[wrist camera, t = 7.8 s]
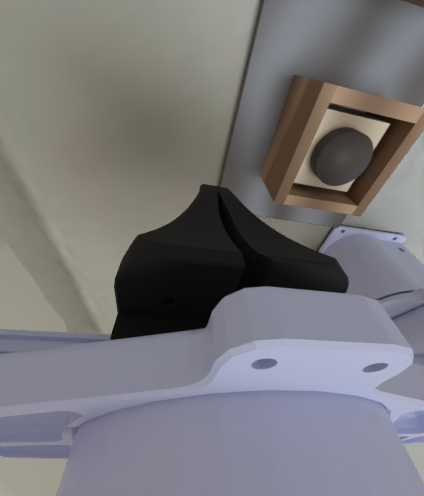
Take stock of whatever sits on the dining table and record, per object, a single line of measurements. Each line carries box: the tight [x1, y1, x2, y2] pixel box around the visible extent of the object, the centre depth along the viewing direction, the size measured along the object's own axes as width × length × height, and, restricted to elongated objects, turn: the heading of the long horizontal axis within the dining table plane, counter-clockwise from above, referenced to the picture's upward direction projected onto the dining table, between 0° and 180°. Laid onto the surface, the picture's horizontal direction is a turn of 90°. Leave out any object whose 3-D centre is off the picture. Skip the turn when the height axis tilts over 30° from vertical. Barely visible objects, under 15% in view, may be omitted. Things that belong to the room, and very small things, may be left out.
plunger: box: [294, 105, 390, 192], centre depth 17 cm, size 5×5×5 cm
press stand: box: [219, 0, 424, 228], centre depth 13 cm, size 14×28×6 cm, turn 169°
